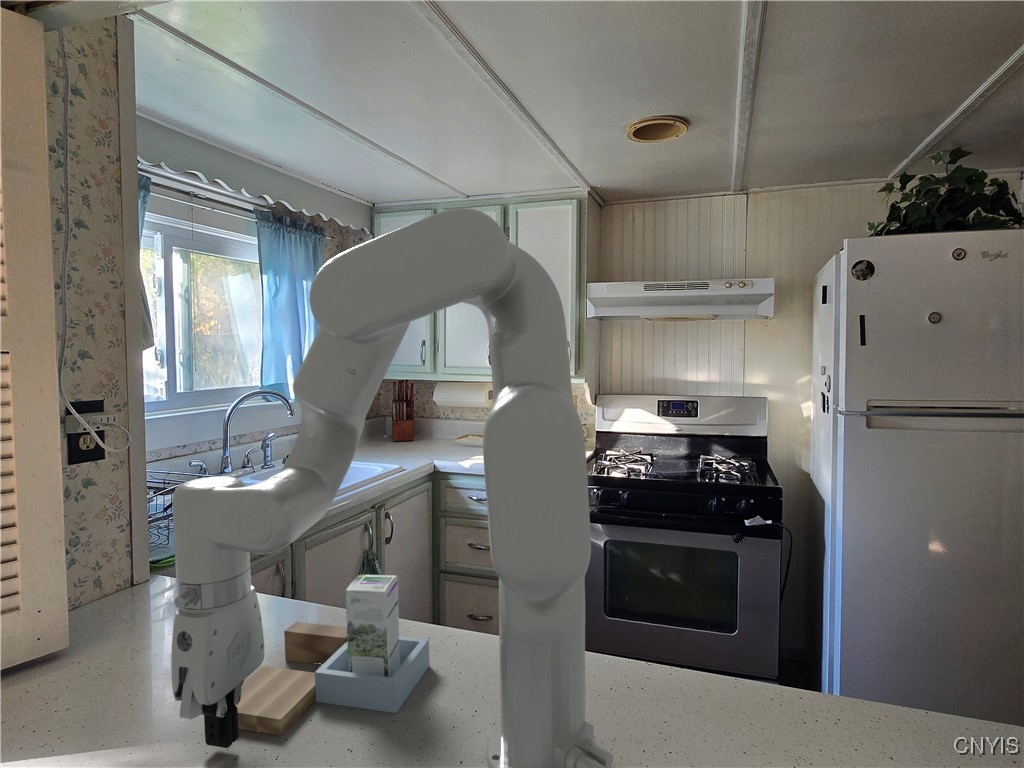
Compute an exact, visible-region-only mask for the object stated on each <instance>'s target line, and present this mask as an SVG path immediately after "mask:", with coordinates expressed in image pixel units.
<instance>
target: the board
mask: <svg viewBox="0 0 1024 768" xmlns="http://www.w3.org/2000/svg"><path fill="white" fill-rule="evenodd" d="M314 702H316V693H315V672H313V671H312V672H311V671H305V670H296V669H291V668H290V669H288V668H284V667H283V668H282V667H273V666H266V665H260V666H259V667H258V668H257V669H256V670H255V671H254V672H253V673H252V674H250V675H249V676H248V677H247V678H246V679H245V680H244V682H243V685H242V689H241V700H240V702H239V704H238V705H236V706H237V709H238V730H239V729H240V730H247V731H251V732H258V733H264V734H270V735H275V736H276V735H277V736H282V735H283V734H285V732H286V731H287V730H288V729H289V728H291V726H292V725H293V724H294V723H295V722H296V721H297V720H298V719H299V717H301V716H302V715H303V714H304V713H305V711H306V710H308V708H309V707H310V706H312V704H313V703H314Z"/></svg>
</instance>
